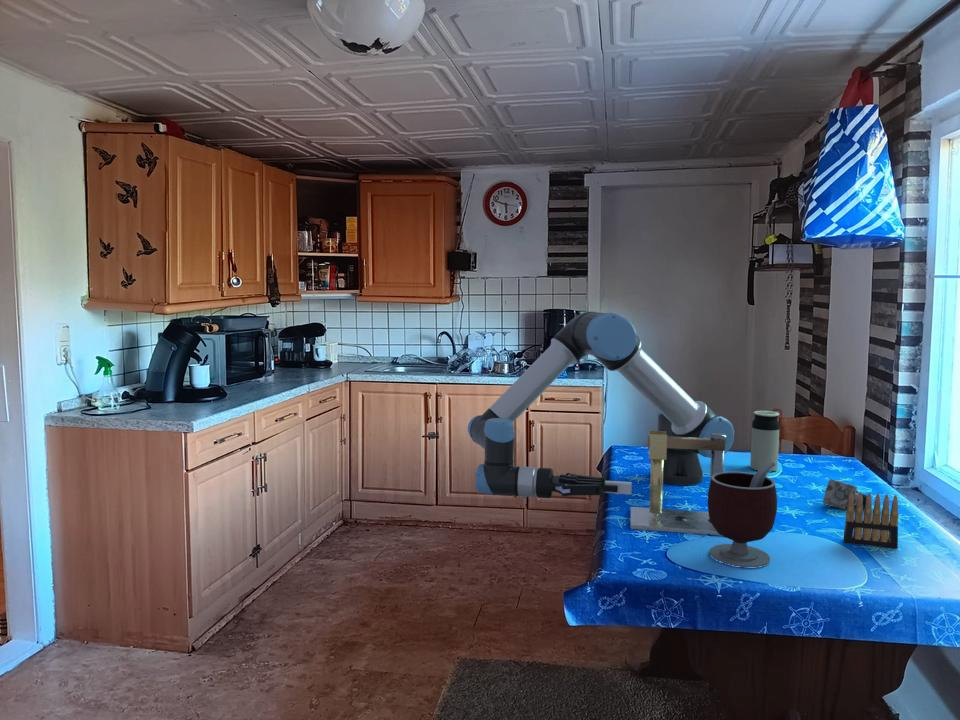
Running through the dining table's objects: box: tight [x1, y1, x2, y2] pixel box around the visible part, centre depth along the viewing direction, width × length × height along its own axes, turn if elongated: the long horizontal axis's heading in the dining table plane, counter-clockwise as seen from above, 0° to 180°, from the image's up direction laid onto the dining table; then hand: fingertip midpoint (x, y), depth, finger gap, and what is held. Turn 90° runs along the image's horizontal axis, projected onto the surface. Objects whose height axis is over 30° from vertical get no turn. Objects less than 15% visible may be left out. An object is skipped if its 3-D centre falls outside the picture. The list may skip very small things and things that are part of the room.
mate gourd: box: [707, 462, 778, 567], centre depth 154 cm, size 16×14×20 cm
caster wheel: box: [822, 478, 873, 511], centre depth 190 cm, size 7×11×10 cm
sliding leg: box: [648, 430, 667, 516], centre depth 176 cm, size 4×6×21 cm
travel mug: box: [749, 410, 780, 472], centre depth 225 cm, size 8×8×18 cm
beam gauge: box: [630, 433, 726, 536], centre depth 174 cm, size 26×14×22 cm, turn 78°
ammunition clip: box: [842, 491, 899, 550], centre depth 161 cm, size 11×2×12 cm, turn 72°
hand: (631, 488), depth 177 cm, fingers closed
